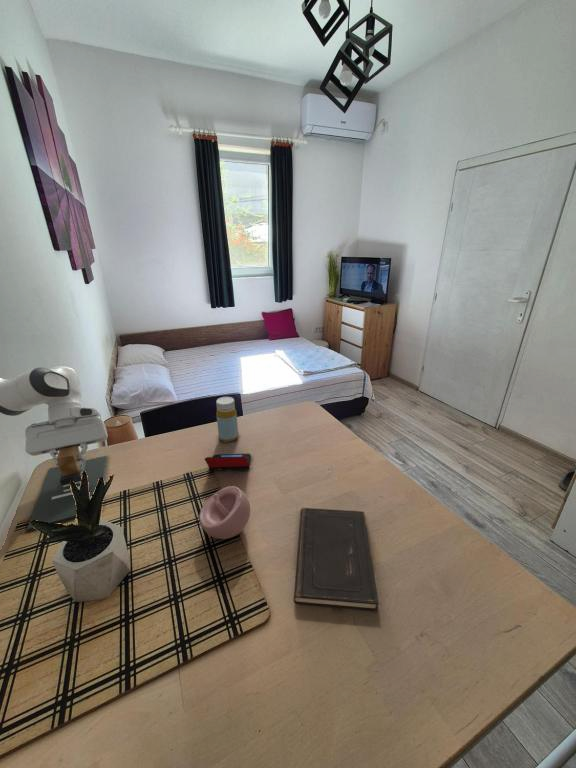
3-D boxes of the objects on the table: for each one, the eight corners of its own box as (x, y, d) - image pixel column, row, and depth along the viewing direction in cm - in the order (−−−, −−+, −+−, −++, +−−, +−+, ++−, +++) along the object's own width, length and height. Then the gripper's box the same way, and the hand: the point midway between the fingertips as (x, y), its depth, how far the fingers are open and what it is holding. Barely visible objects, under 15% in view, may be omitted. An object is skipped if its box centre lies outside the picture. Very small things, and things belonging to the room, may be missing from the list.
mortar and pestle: (201, 516, 84) (196, 481, 79) (247, 507, 86) (245, 472, 82) (202, 556, 73) (196, 517, 69) (254, 544, 76) (252, 506, 71)
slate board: (27, 531, 80) (26, 529, 80) (50, 470, 102) (49, 468, 101) (100, 511, 86) (100, 508, 86) (107, 457, 108) (106, 455, 107)
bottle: (224, 431, 122) (221, 395, 117) (241, 433, 120) (238, 397, 114) (215, 440, 116) (211, 403, 110) (233, 444, 114) (229, 406, 108)
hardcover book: (363, 518, 83) (364, 511, 82) (377, 611, 62) (378, 603, 61) (300, 514, 84) (300, 507, 83) (293, 604, 63) (293, 596, 62)
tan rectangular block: (61, 485, 91) (53, 462, 88) (67, 465, 99) (59, 443, 96) (82, 480, 93) (74, 457, 89) (86, 461, 101) (79, 439, 98)
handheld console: (251, 456, 108) (250, 436, 105) (248, 477, 98) (246, 457, 95) (213, 456, 108) (211, 437, 105) (206, 478, 98) (203, 457, 95)
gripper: (20, 422, 91) (21, 470, 87) (101, 407, 99) (107, 451, 95) (29, 428, 97) (31, 474, 93) (106, 414, 105) (111, 456, 100)
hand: (70, 462), depth 94 cm, fingers closed on tan rectangular block, 4 cm apart
